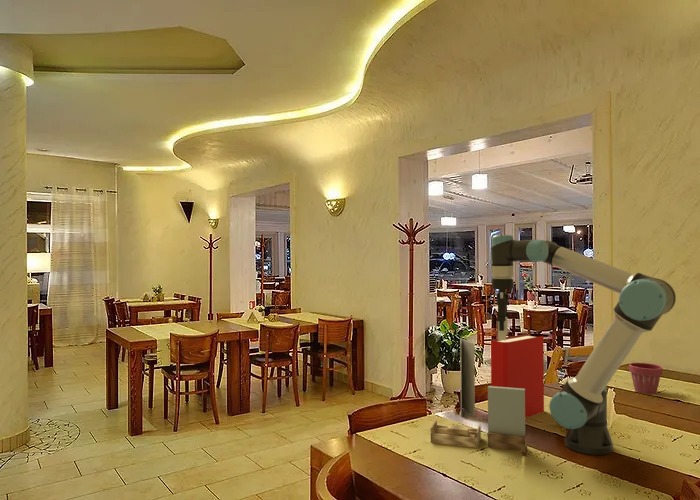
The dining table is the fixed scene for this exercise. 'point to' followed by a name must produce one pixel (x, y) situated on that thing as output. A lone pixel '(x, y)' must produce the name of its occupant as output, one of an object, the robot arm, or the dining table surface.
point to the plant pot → (645, 377)
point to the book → (520, 368)
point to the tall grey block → (467, 376)
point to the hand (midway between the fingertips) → (502, 337)
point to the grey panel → (506, 410)
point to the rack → (441, 436)
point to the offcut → (458, 430)
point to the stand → (507, 442)
